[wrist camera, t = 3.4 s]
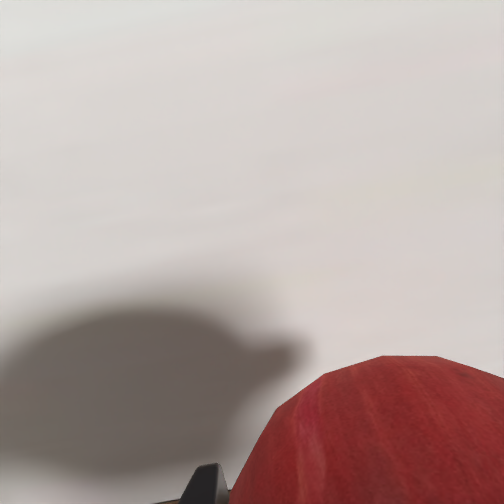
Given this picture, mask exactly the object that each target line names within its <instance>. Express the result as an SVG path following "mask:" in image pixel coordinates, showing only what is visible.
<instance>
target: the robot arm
mask: <svg viewBox="0 0 504 504" xmlns="http://www.w3.org/2000/svg"><path fill="white" fill-rule="evenodd" d="M229 498H230V497H229V492H228V489H227V485H226V482H225V478H224V475H223V471H222V468H221V466H220V464H218V463H213V464H207V465H202V466H199V467H198V468H197V469H196V470H195V472H194V474H193V476H192V478H191V480H190V481H189V483H188V485H187V487H186V489H185V491H184V493H183V494H182V496H181V498H180V500H179V502H178V504H229Z"/></svg>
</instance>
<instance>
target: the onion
mask: <svg viewBox="0 0 504 504" xmlns="http://www.w3.org/2000/svg"><path fill="white" fill-rule="evenodd" d="M229 504H504V378H501V377H498V376H496V375H493V374H490V373H487V372H484V371H481V370H478V369H475V368H473V367H470V366H467V365H463V364H460V363H457V362H454V361H450V360H447V359H444V358H441V357H438V356H380V357H377V358H374V359H370V360H367V361H364V362H361V363H358V364H354V365H351V366H348V367H345V368H341V369H338V370H335V371H332V372H329V373H325V374H323V375H322V376H321V377H319V378H318V379H317V380H315V381H314V382H312V383H311V384H310V385H308V386H307V387H306V388H304V389H303V390H301V391H300V392H299V393H297V394H296V395H295V396H293V397H292V398H290V399H289V400H288V401H286V402H285V403H284V404H282V405H281V406H279V407H278V408H277V409H276V410H275V412H274V414H273V415H272V417H271V419H270V420H269V422H268V424H267V425H266V427H265V429H264V430H263V432H262V434H261V435H260V437H259V439H258V441H257V443H256V444H255V446H254V448H253V450H252V452H251V454H250V456H249V458H248V460H247V462H246V464H245V465H244V467H243V469H242V471H241V473H240V475H239V477H238V479H237V481H236V483H235V485H234V486H233V488H232V490H231V492H230V498H229Z"/></svg>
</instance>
